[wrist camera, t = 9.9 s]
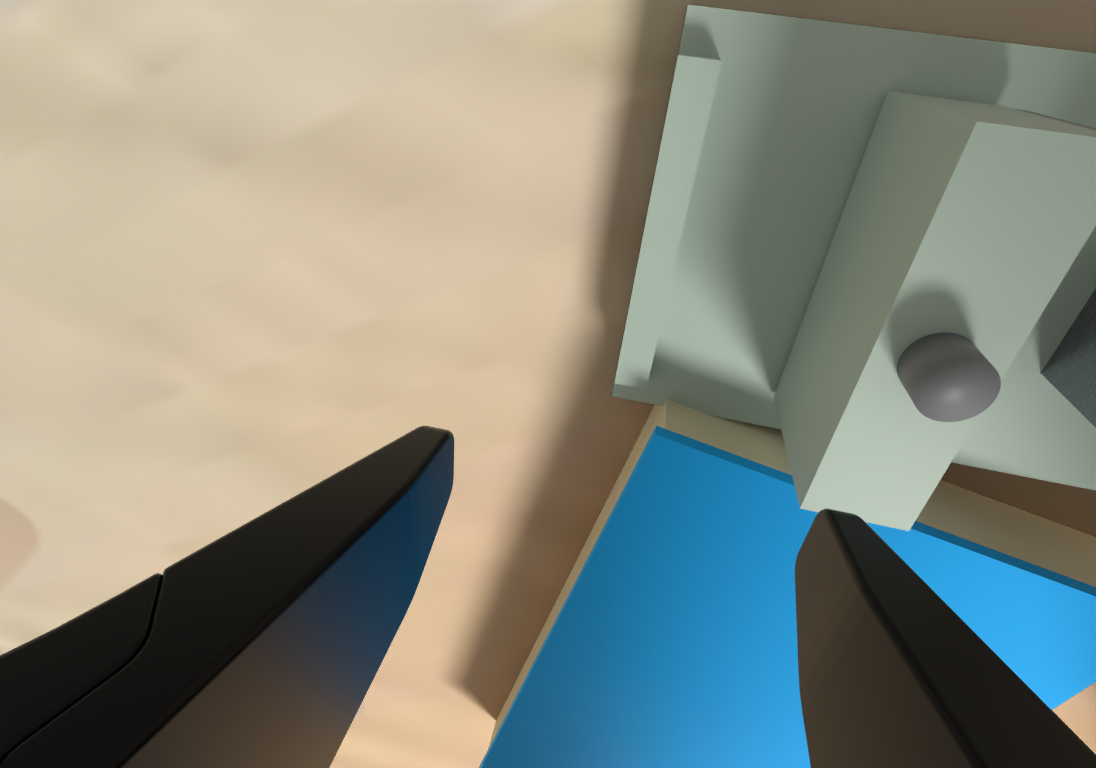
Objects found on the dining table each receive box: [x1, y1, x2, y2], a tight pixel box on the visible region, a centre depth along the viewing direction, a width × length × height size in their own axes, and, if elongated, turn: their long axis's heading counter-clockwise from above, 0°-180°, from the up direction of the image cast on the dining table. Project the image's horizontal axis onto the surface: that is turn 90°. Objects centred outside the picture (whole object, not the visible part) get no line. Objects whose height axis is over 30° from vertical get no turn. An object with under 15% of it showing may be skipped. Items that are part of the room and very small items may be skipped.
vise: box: [612, 5, 1096, 490], centre depth 14 cm, size 20×11×6 cm, turn 84°
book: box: [479, 399, 1096, 768], centre depth 26 cm, size 17×4×25 cm
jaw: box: [774, 91, 1096, 531], centre depth 13 cm, size 3×9×6 cm, turn 174°
